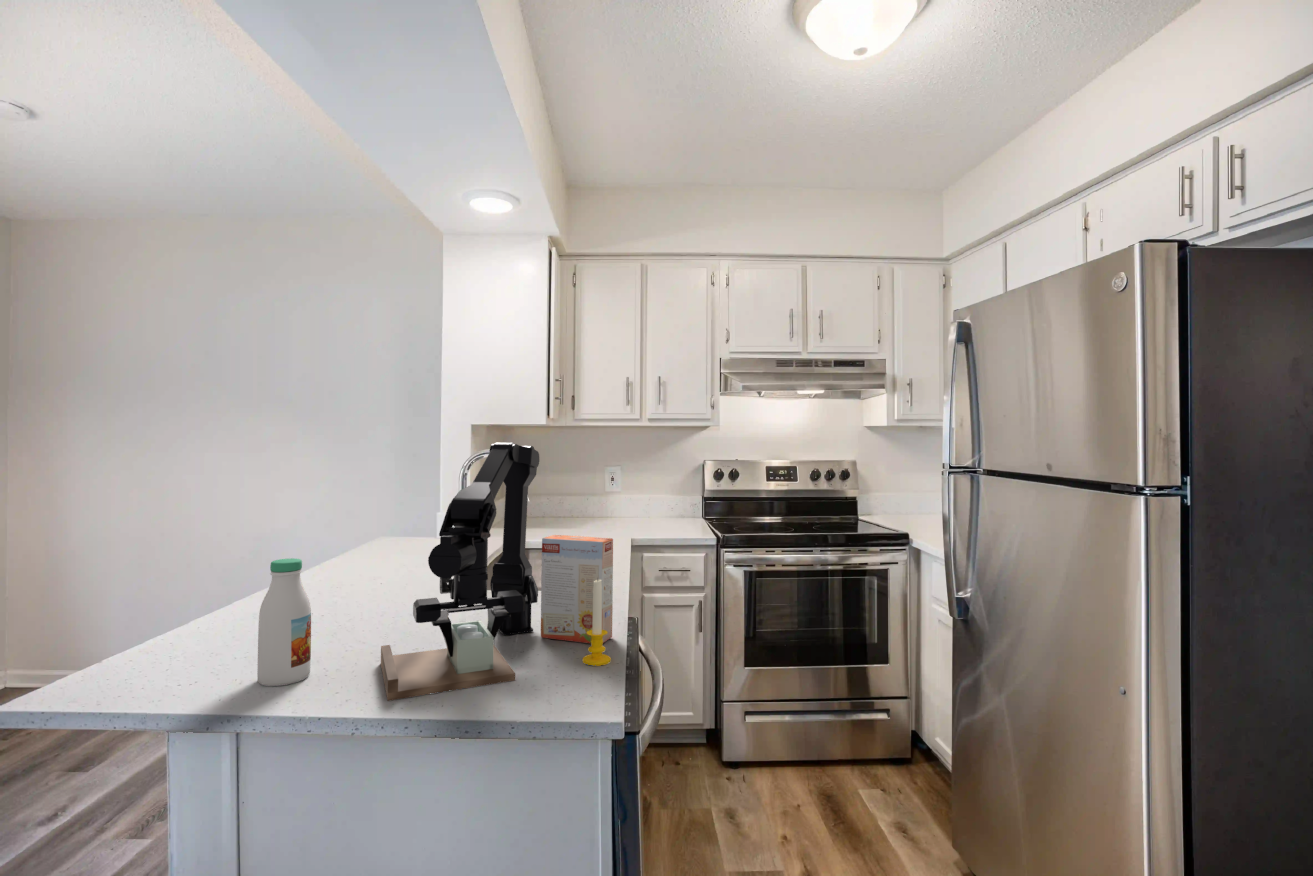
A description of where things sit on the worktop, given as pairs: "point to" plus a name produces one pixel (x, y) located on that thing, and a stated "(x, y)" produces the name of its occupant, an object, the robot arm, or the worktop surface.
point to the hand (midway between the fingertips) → (469, 653)
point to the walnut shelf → (435, 673)
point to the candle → (597, 631)
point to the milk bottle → (284, 627)
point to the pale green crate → (471, 647)
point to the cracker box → (575, 586)
